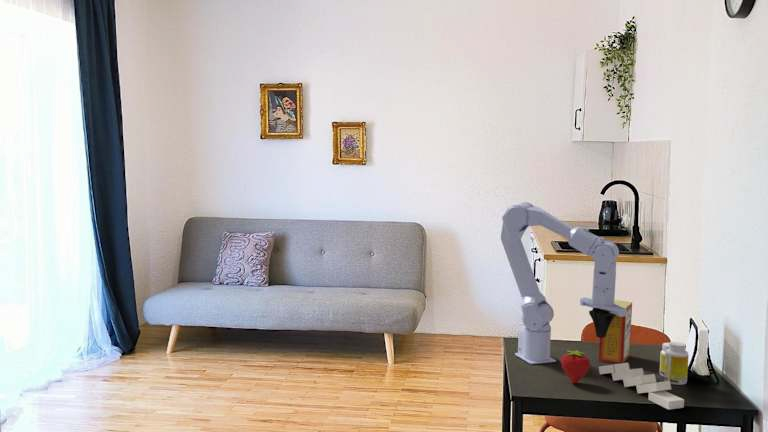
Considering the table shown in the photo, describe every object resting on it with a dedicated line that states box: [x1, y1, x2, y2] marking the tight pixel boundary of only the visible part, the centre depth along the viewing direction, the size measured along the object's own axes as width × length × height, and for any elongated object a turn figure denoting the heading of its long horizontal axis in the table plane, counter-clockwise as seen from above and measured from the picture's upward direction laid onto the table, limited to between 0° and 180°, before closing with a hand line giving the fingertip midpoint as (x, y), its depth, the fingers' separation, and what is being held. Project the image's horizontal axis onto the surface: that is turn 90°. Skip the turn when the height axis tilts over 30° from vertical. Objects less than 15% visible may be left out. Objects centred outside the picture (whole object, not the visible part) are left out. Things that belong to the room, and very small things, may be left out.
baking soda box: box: [598, 299, 633, 364], centre depth 218 cm, size 10×6×16 cm
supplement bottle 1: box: [658, 342, 670, 378], centre depth 204 cm, size 5×5×8 cm
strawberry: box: [560, 349, 591, 384], centre depth 196 cm, size 6×8×10 cm
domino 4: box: [647, 390, 685, 411], centre depth 183 cm, size 2×4×7 cm
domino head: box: [598, 362, 631, 375], centre depth 202 cm, size 2×4×7 cm
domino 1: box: [611, 367, 645, 382], centre depth 197 cm, size 2×4×7 cm
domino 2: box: [622, 373, 657, 388], centre depth 192 cm, size 2×4×7 cm
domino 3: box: [635, 380, 672, 394], centre depth 188 cm, size 2×4×7 cm
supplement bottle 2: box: [663, 341, 690, 386], centre depth 198 cm, size 6×6×10 cm
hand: (601, 336), depth 207 cm, fingers closed
